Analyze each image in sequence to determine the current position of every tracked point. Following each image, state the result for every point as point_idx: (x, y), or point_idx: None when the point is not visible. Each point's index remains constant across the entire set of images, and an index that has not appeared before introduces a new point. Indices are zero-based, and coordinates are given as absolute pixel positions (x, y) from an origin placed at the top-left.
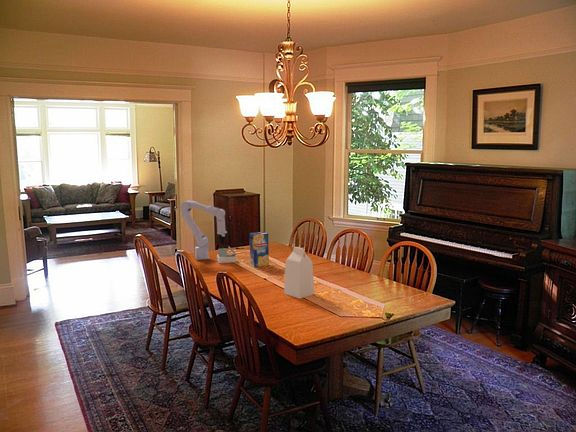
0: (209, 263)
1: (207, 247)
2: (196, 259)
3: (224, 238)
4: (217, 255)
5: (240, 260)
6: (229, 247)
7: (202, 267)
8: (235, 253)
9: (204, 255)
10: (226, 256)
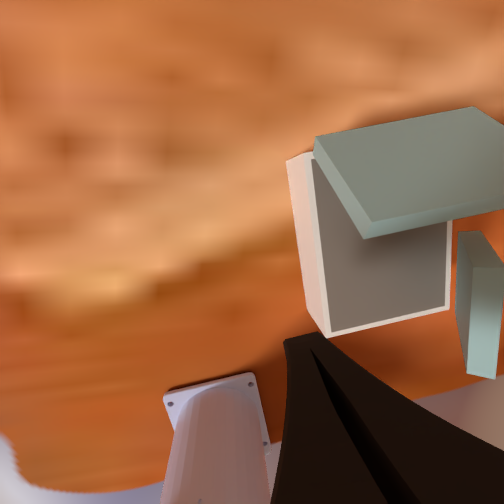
0: (386, 354)
1: (239, 498)
2: (269, 452)
3: (483, 455)
4: (353, 331)
5: (358, 88)
6: (446, 212)
7: (475, 381)
8: (488, 119)
9: (260, 432)
10: (426, 238)
